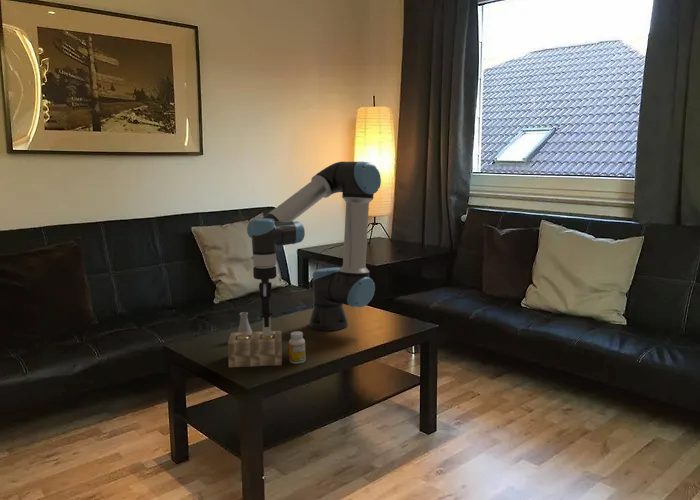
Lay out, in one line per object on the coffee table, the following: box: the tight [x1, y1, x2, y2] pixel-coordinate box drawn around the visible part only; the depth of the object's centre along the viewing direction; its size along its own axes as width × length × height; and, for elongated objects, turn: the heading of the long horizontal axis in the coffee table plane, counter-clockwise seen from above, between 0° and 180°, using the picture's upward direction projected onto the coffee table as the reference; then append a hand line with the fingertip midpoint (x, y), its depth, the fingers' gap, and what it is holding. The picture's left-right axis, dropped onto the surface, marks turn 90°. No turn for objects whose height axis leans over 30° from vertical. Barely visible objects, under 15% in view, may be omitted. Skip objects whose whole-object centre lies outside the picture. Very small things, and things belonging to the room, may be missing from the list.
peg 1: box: [237, 335, 249, 340], centre depth 207 cm, size 4×4×8 cm
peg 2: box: [261, 335, 273, 339], centre depth 208 cm, size 4×4×8 cm
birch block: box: [227, 330, 283, 368], centre depth 208 cm, size 17×12×8 cm
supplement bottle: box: [288, 330, 307, 365], centre depth 206 cm, size 5×5×10 cm
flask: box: [236, 311, 253, 333], centre depth 231 cm, size 7×7×10 cm
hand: (267, 335), depth 207 cm, fingers closed
